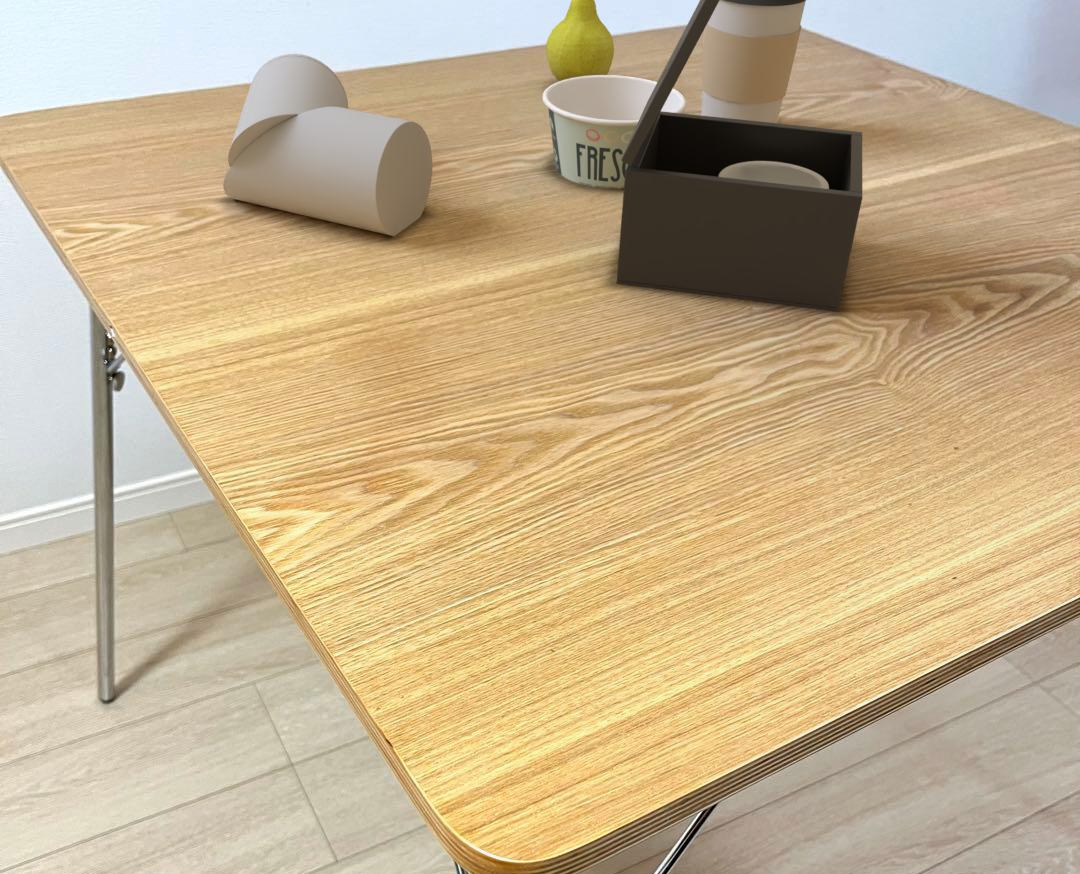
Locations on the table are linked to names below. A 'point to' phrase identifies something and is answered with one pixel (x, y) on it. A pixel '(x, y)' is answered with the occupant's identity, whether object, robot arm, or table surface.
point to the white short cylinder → (774, 174)
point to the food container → (598, 124)
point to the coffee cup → (749, 58)
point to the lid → (669, 77)
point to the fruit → (580, 43)
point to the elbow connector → (326, 152)
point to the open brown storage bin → (740, 212)
